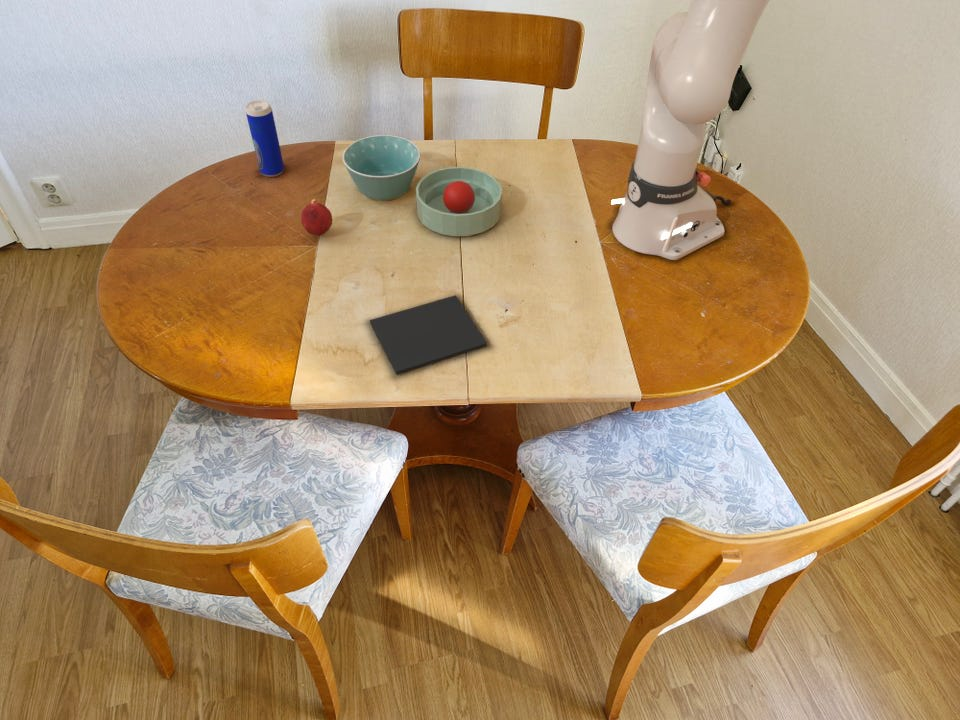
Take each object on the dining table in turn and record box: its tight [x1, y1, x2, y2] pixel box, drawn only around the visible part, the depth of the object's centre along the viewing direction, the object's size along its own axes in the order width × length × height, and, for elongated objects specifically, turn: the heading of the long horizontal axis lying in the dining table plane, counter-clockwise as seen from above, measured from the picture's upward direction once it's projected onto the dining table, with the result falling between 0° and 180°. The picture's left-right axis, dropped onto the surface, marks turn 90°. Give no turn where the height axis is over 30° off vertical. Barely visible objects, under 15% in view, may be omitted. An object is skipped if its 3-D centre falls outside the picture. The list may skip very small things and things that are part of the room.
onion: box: [300, 198, 333, 237], centre depth 132 cm, size 6×6×8 cm
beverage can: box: [245, 99, 285, 178], centre depth 144 cm, size 5×5×15 cm
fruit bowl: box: [415, 166, 503, 237], centre depth 139 cm, size 17×17×6 cm
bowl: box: [342, 134, 421, 202], centre depth 143 cm, size 16×16×8 cm
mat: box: [369, 295, 488, 376], centre depth 116 cm, size 16×13×1 cm
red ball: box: [443, 181, 475, 214], centre depth 138 cm, size 6×6×6 cm
